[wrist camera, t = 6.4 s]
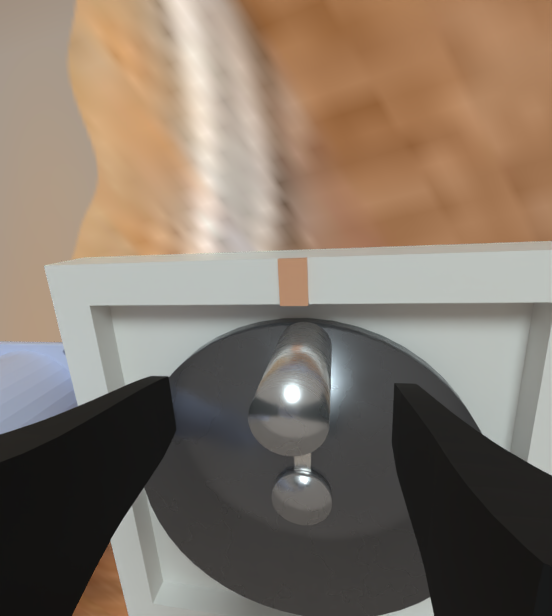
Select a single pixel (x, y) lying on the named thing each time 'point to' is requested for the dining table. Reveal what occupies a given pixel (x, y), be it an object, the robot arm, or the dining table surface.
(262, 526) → the dial
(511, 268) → the dial base
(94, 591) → the dining table surface
